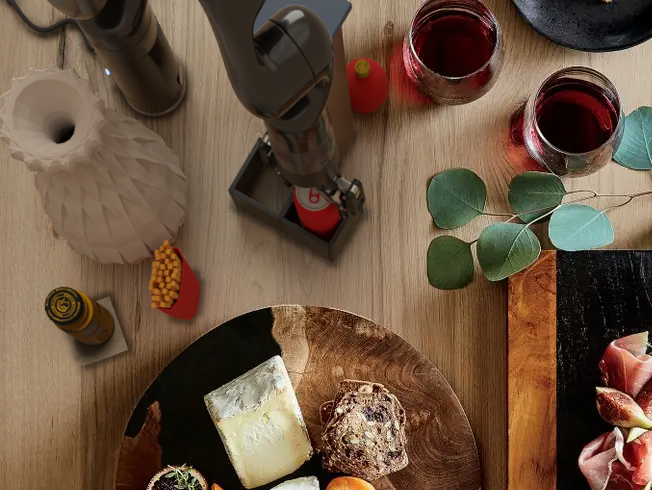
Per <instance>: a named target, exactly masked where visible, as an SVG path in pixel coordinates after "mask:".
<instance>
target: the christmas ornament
mask: <svg viewBox="0 0 652 490" xmlns="http://www.w3.org/2000/svg"><path fill="white" fill-rule="evenodd" d="M346 68H347V76H348V85H349V93H350V102H351V110H352V111H353V112H355V113H359V114H369V113H373V112H375V111H377V110H378V109H379V108H380V107H381V106H383V104H384V102H385V101H386V99H387V97H388V93H389V80H388V79H389V78H388V75H387V73H386V71H385V70H384V68H383V66H381V64H380V63H378V62H377V61H375V60H374V59H371V58H367V57H360V58H356V59H353V60H351V61H350V62H349V63H347V64H346Z"/></svg>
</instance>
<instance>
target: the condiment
mask: <svg viewBox="0 0 652 490" xmlns="http://www.w3.org/2000/svg"><path fill="white" fill-rule="evenodd" d="M44 311H45V314H46V316H47V318H48V320H49V321H51V322H52V323H53V324H54V326H55V327H56V328H57V329H58V330H60V331H62V332H63V333H65V334H67V335H69V336H71V339H72V341H73V344H74V348H75V350H76V353H77V355H78V359H79V362H80V364H81V367H85V366H88V365H91V364H94V363H96V362H100V361H102V360H105V359H107V358H111V357H112V356H116V355H118V354H121V353H123V352H126V351H128V350H129V348H128V345H127V342H126V339H125V337H124V333H123V331H122V328H121V324H120V322H119V320H118V316H117V314H116V311H115V307H114V305H113V303H112V300H111V298H110V296H107V297H104V298H101V299H98V300H95V299H93V298H92V297H90V296H88V294H86V293H84V292H82V291H81V290H78V289H74V288H72V287H69V286H59V287H56V288H54V289H52V290H51V291H50V292H49V293H48V295H47V296H46V298H45V300H44Z"/></svg>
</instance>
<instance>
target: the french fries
mask: <svg viewBox="0 0 652 490" xmlns="http://www.w3.org/2000/svg"><path fill="white" fill-rule="evenodd" d="M154 255H155V257H154V258H155V261H152V264H151V267H152V270H151V276H150V277H151V279H149V283H148V284H149V285H148V291H150V292H152V293H151V295H150V298H151V301H152V302H151V303H150V305H151V308H152V309H156V310H158V311H160V312H162V313H164V314H166V315H168V316H170V317H172V318H174V319H178V320H186V321H190V320H191V319H192V318H193V317H194V316H195V315H197V313H198V310H199V302H200V295H201V282H200V281H199V279H198V278H197V276H196V274H195V273H194V271H193V269H192V267H191V266H190V264H189V262H188V261H187V259H186V258H185V256H184V254H183V253H182V251H181V248H180V247H176V246H172V245H171V243H169V241H168V240H166V241H164V246H160V251H159V250H155V254H154Z"/></svg>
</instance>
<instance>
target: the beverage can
mask: <svg viewBox="0 0 652 490" xmlns="http://www.w3.org/2000/svg"><path fill="white" fill-rule="evenodd" d="M294 186H295V185H294ZM293 191H294V194H293V199H294V203H295V206H296V209H297V212H298V215H299V216H298V218H299V220H300V223H301V225H302V228H303V229H304V230H306V231H308V232H310V233H311V234H313V235H315V236H316V237H318V238H320V239H322V240H323V241H325V242H327V243H328V242H330V241H331V239H332V237H333V236H334V234H335V232H336V231H337V229H338V227H339V225H340V224H341V222H342V220H343V218H341V217H339V214H338V209H337V206H336V205H335V204H334V203H331V202H327V201H326V200H325V199H324V198H323V197H322V196H321V195H320V194H319V193H318V192H317V191H315V190H312V189H311V188H301V187H297V186H295V187H294V188H293ZM326 191H327V192H328V193H329V192H330V190H326ZM339 200H340V196H339Z"/></svg>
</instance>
